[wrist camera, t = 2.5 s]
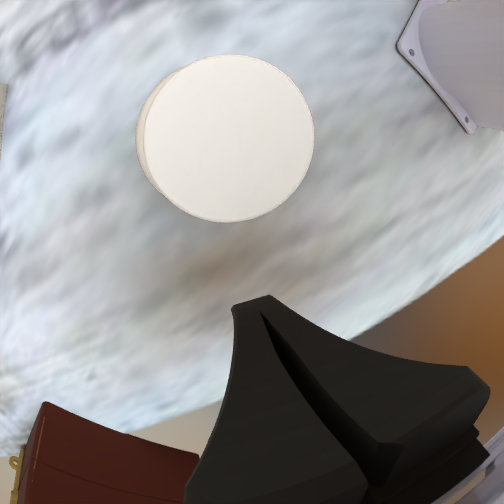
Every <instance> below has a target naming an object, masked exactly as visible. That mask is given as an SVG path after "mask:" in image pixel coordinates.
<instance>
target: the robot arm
mask: <svg viewBox="0 0 504 504" xmlns="http://www.w3.org/2000/svg"><path fill="white" fill-rule="evenodd" d="M397 46H398V50H399V51H400V53H401V54H402V55H403V56H404V57H405V58H406V59H407V60H408V61H409V62H410V63H411V64H412V65H413V66H414V67H415V68H416V69H417V71H418V72H419V73H420V74H421V75H422V76H423V77H424V78H425V79H426V80H427V82H428V83H429V84H430V85H431V86H432V87H433V89H434V90H435V91H436V92H437V93H438V95H439V96H440V97H441V98H442V99H443V101H444V102H445V103H446V104H447V106H448V107H449V108H450V110H451V111H452V112H453V114H454V115H455V116H456V117H457V119H458V120H459V122H460V123H461V124H462V126H463V127H464V128H465V130H466V131H467V133H468V134H474V133H475V130H476V128H477V126H480V127H485V128H491V129H496V130H501V131H504V0H456V1H451V2H448V1H447V0H419V2H418V4H417V6H416V8H415V10H414V12H413V14H412V16H411V18H410V20H409V22H408V24H407V26H406V28H405V30H404V32H403V34H402V36H401V38H400V40H399V42H398V45H397ZM409 51H410V53H411V55H410V54H409ZM231 311H232V315H233V319H234V344H233V354H232V362H231V369H230V374H229V379H228V384H227V388H226V392H225V396H224V399H223V403H222V406H221V409H220V413H219V416H218V418H217V421H216V424H215V426H214V429H213V431H212V433H211V436H210V438H209V440H208V443H207V445H206V448H205V450H204V452H203V454H202V456H201V458H200V460H199V462H198V463H197V465H196V467H195V469H194V471H193V473H192V474H191V476H190V478H189V480H188V482H187V483H186V485H185V490H184V499H183V504H442V503H444V502H445V501H446V500H448V499H449V498H451V497H452V496H453V495H454V494H456V493H457V492H458V491H460V490H461V489H462V488H463V487H465V486H466V485H467V484H468V483H469V482H471V481H472V480H473V479H474V478H476V477H477V476H478V475H479V474H480V473H481V472H482V471H483V470H484V469H486V471H485V478H484V479H483V480H482V481H481V482H480V483H479V484H478V485H476V486H475V487H474V488H473V489H472V490H470V491H469V492H468V493H467V494H466V495H465V496H463V497H462V498H461V499H460V500H458V501H457V502H456V503H454V504H504V427H503V428H502V429H501V430H500V431H499V432H498V433H497V434H496V435H495V436H494V437H493V438H492V439H490V440H489V441H488V442H487V443H486V444H485V445H484V446H483V445H482V444H481V443H480V442H479V441H478V440H477V439H476V438H477V437H478V435H479V431H478V430H477V429H476V428H475V427H474V425H473V424H474V423H475V421H476V420H477V418H478V416H479V415H480V413H481V412H482V410H483V408H484V407H485V405H486V403H487V401H488V399H489V396H490V387H489V386H488V385H487V384H486V383H485V382H484V381H483V380H482V379H481V378H480V377H478V375H476V374H475V373H474V372H473V371H472V370H471V369H470V368H468V367H467V366H456V365H442V364H432V363H424V362H419V361H413V360H408V359H404V358H399V357H395V356H391V355H388V354H384V353H380V352H377V351H374V350H371V349H368V348H365V347H362V346H360V345H357V344H355V343H352V342H349V341H347V340H345V339H342V338H340V337H338V336H336V335H334V334H332V333H330V332H328V331H326V330H324V329H322V328H321V327H319V326H317V325H315V324H314V323H312V322H310V321H309V320H307V319H305V318H304V317H302V316H300V315H299V314H297V313H296V312H294V311H293V310H291V309H290V308H288V307H287V306H286V305H284V304H283V303H281V302H280V301H278V300H277V299H276V298H274V297H273V296H271V295H266V296H263V297H260V298H256V299H253V300H250V301H246V302H243V303H239V304H236V305H233V307H232V308H231Z"/></svg>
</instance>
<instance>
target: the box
mask: <svg viewBox="0 0 504 504" xmlns="http://www.w3.org/2000/svg"><path fill="white" fill-rule="evenodd" d="M199 460H200V458H199V455H198V454H197V453H193V452H189V451H184V450H181V449H177V448H173V447H169V446H166V445H162V444H158V443H155V442H152V441H149V440H145V439H142V438H139V437H136V436H133V435H130V434H127V433H124V434H123V433H121V432H118V431H115V430H112V429H110V428H107V427H104V426H102V425H99V424H97V423H94V422H92V421H89V420H87V419H85V418H82V417H80V416H78V415H75V414H73V413H71V412H69V411H67V410H64V409H62V408H60V407H58V406H56V405H54V404H52V403H50V402H46V401H45V402H43V403H42V406H41V408H40V411H39V413H38V415H37V418H36V420H35V423H34V426H33V428H32V431H31V433H30V436H29V439H28V442H27V444H26V447H25V450H24V449H22V448H21V451H20V455H19V458H18V457H15V456H12V457H11V458H10V460H9V464H10V466H11V467H12V468H13V469H15V470H17V471H16V477H15V483H14V489H13V490H12V491H11V500H10V504H183V499H184V490H185V485H186V483H187V482H188V480H189V478H190V476H191V474H192V473H193V471H194V469H195V467H196V465H197V463H198V462H199ZM13 461H16V462H17V463H18V465H15V464H14V463H13Z"/></svg>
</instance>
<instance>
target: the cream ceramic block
mask: <svg viewBox="0 0 504 504" xmlns="http://www.w3.org/2000/svg"><path fill="white" fill-rule="evenodd" d="M7 89H8V85H5V84H0V158H1V139H2V127H3V117H4V109H5V102H6V95H7Z"/></svg>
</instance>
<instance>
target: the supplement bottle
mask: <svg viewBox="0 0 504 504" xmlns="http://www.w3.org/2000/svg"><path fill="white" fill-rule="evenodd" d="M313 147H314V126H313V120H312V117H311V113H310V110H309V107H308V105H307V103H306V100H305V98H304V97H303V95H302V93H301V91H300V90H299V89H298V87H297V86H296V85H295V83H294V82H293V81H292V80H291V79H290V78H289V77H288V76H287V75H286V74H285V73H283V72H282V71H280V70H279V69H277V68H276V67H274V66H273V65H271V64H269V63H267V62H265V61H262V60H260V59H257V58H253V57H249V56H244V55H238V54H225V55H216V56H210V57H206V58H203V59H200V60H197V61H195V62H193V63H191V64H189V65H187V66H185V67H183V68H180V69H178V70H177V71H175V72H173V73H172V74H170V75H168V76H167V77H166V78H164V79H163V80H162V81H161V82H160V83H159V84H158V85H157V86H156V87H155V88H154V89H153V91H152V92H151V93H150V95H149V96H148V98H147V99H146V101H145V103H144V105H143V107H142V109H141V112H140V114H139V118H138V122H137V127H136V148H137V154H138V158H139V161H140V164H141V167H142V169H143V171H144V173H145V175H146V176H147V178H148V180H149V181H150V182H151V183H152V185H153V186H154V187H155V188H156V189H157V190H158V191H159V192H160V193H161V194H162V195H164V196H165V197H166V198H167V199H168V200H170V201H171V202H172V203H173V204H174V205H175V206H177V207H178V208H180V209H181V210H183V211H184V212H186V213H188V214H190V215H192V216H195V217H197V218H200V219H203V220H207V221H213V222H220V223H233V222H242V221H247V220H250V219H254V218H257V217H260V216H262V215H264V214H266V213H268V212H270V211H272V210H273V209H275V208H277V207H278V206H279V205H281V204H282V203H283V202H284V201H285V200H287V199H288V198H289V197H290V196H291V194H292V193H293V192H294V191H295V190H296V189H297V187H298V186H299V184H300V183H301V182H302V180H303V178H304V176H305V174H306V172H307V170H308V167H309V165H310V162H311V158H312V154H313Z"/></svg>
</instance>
